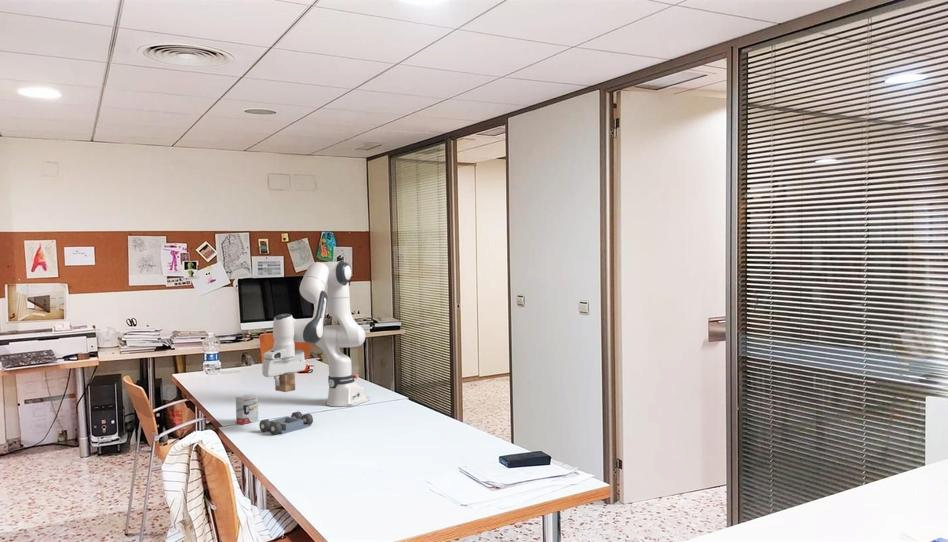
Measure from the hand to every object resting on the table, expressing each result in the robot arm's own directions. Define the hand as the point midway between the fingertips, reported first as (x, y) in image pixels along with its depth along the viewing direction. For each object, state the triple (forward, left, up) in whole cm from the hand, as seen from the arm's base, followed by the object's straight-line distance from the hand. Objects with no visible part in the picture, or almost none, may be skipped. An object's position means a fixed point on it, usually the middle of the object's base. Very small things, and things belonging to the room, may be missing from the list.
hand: (285, 384), depth 291 cm
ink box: (+3, -24, -19) cm, 31 cm away
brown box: (0, 0, -3) cm, 3 cm away
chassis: (0, 0, -19) cm, 19 cm away
